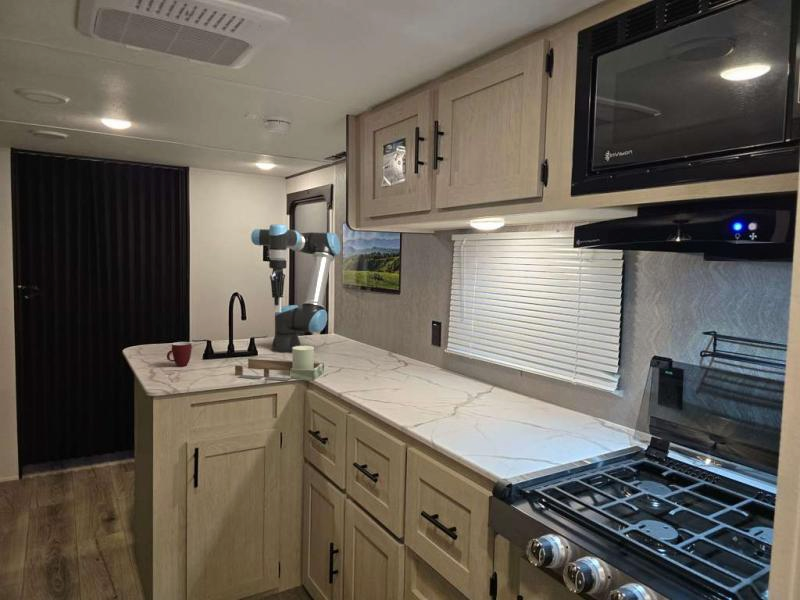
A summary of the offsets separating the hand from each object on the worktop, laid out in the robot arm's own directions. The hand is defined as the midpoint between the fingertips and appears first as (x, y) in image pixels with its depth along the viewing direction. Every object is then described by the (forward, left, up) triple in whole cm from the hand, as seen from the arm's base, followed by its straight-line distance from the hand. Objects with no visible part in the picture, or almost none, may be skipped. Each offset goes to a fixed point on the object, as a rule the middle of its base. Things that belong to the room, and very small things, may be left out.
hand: (277, 311), depth 241 cm
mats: (+24, +4, -24) cm, 34 cm away
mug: (+13, -40, -25) cm, 49 cm away
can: (+14, +16, -25) cm, 33 cm away
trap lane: (+15, +7, -24) cm, 29 cm away
